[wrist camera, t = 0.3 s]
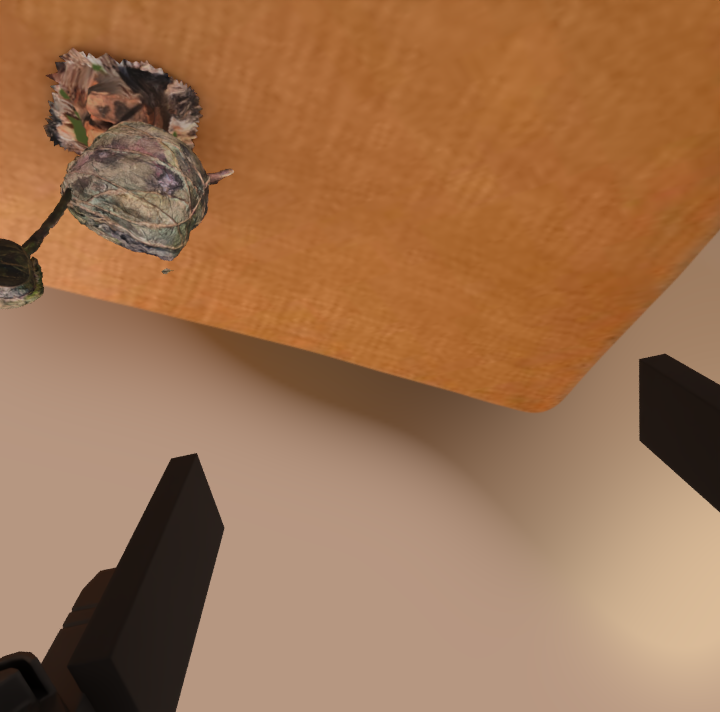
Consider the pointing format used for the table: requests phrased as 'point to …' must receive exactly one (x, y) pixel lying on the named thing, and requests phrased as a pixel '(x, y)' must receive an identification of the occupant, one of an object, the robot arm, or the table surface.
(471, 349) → the table surface
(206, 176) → the stacked rock sculpture
